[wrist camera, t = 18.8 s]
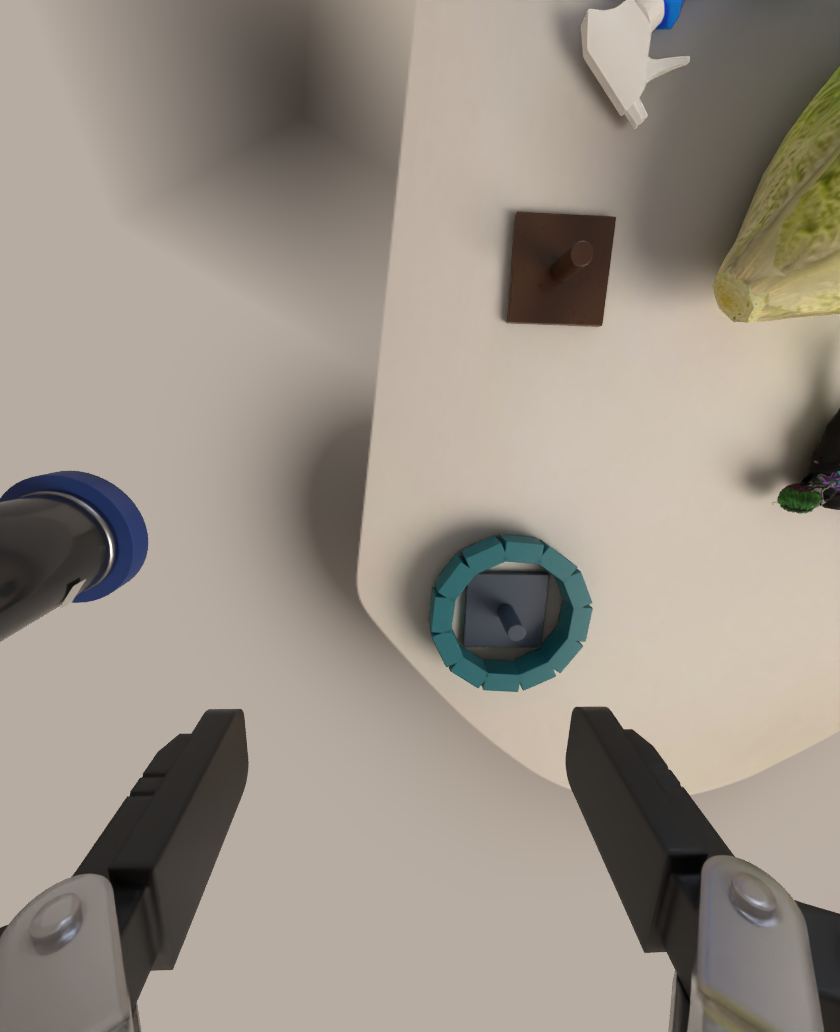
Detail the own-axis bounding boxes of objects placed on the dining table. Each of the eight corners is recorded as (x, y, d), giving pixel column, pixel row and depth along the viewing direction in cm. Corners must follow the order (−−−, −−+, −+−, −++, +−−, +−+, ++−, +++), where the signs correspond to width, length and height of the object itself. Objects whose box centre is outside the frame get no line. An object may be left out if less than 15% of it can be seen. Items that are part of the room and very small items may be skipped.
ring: (421, 672, 41) (424, 687, 39) (439, 528, 38) (442, 536, 36) (564, 679, 43) (574, 694, 40) (592, 541, 40) (605, 549, 37)
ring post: (506, 323, 34) (522, 311, 30) (514, 214, 32) (532, 185, 28) (599, 326, 35) (627, 316, 30) (612, 220, 33) (645, 192, 28)
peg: (462, 644, 42) (470, 672, 37) (467, 571, 40) (475, 592, 35) (539, 643, 42) (555, 671, 38) (547, 572, 40) (565, 592, 36)
